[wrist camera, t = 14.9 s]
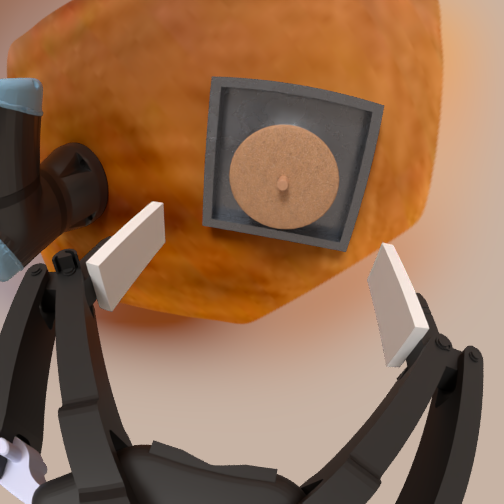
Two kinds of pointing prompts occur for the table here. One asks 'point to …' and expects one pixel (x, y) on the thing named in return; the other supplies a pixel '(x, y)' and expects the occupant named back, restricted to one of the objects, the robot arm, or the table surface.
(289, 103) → the tray
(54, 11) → the table surface
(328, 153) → the lidded jar
